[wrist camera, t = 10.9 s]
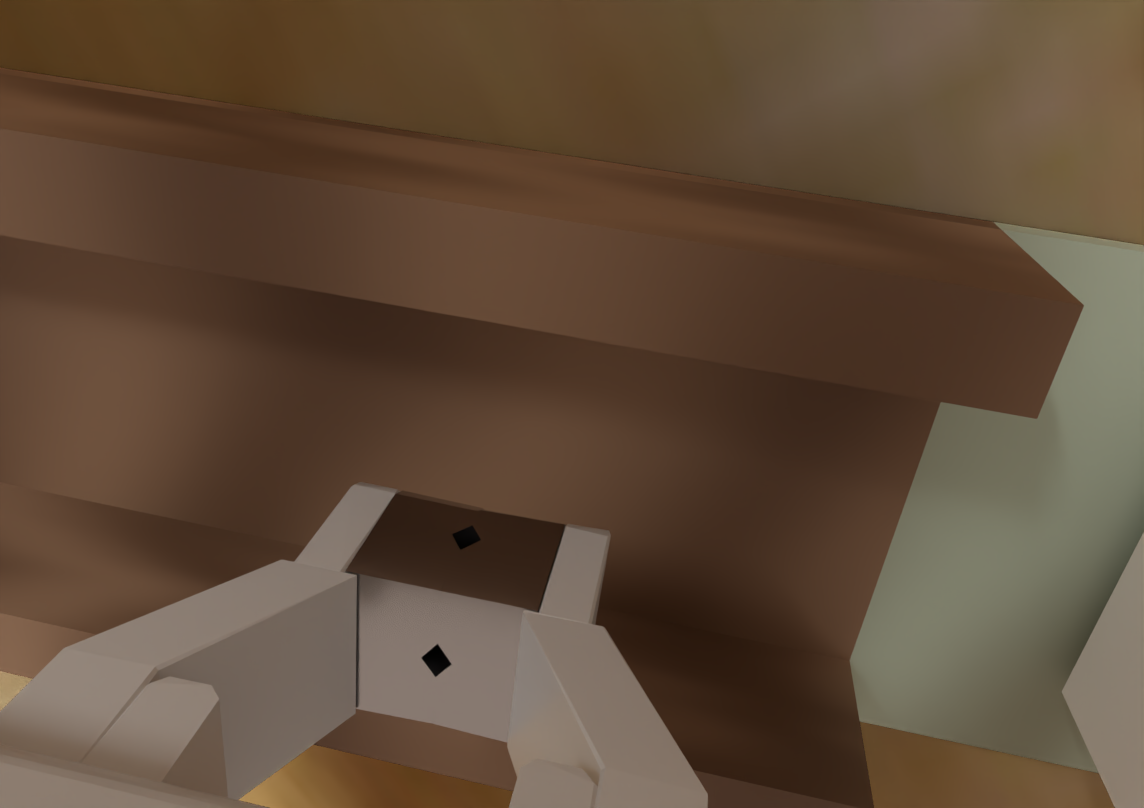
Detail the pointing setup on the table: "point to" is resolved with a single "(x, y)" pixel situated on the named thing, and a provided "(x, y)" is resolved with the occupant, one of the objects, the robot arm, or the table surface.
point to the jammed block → (1115, 688)
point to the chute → (572, 415)
